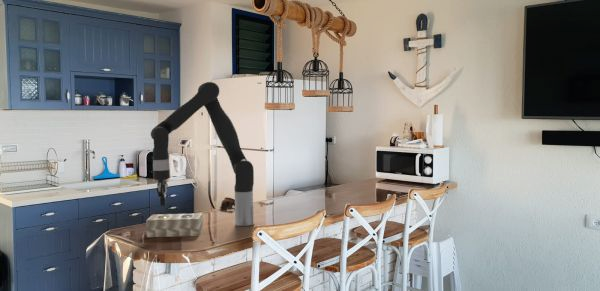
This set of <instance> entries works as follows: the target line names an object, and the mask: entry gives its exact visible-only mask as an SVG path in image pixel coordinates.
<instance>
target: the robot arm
mask: <svg viewBox="0 0 600 291" xmlns="http://www.w3.org/2000/svg"><path fill="white" fill-rule="evenodd" d="M219 95H220V87H219V85H218V84H216V83H215V82H213V81H206V82H203V83H202V84H201V85H199V86H198V89H197V93H196V94H195V95H193V97H192V98H190V99H189V100H188V101H187V102H185V103H184V104H182V105H181V106H179V107H178V108H177V109H176V110H174V111H173V112H172V113H171V114H169V116H167V117H166V118H165V119H164V120H163V121H161V122H159V123H158V124H156V126H154V127H153V128H152V130H151V131H150V138H151V139H152V140H153V148H152V174H153V179H154V180H155V181H157V184H156V192H157V195H158V198H160V199H159V200H160V206H165V205H167V200H166V197H167V194H168V187H169V184H168V182H167V180H169V179H170V178H171V174H170V173H171V172H170V162H169V161H170V160H169V140H170V139H169V138H170V137H169V135H170V134H171V133H172V132H173V131H176V130H178V129H179V128H181V126H182V125H184V124H185V123H186V122H187V121H188V120H189V119H190V118H191V117H192V116H193V115H194V114H196V113H197V111H199V110H200V109H202V108H203V107H204V108H205V109H206V112H207V114H208V116H209V119H210V121H211V123H212V126H213V129H214V130H215V133H216V135H217V137H218V139H219V141H220V144H221V145H222V147H223V149H224V150H225V152H226V154H227V156H228V159H229V160H230V165H231V168H232V171H233V173H234V175H235V183H234V184H235V185H234V200H235V206H234V219H235V226H236V227H248V226H254V223H255V221H254V220H255V219H254V218H255V217H254V214H255V213H254V184H255V183H254V180H255V178H254V177H255V176H254V172H255V171H254V166H253V164H252V162H251V161H249V160H248V159H247V157H246V156H245V154H244V152H243V150H242V149H241V145H240V139H239V136H238V133H237V130H236V128H235V126H234V124H233V122H232V119H230V117H229V115H228V114H227V113H226V111H225V110H224V109H223V107H222V106H221V104H220V101H219V98H218V97H219Z"/></svg>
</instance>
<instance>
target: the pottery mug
mask: <svg viewBox="0 0 600 291" xmlns="http://www.w3.org/2000/svg"><path fill="white" fill-rule="evenodd" d="M233 207H235V198H232V197H224V199H223V200H222V201H221V205H220V207H219V211H225V212H227V211H228V210H232V209H233Z"/></svg>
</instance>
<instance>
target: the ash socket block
mask: <svg viewBox="0 0 600 291" xmlns="http://www.w3.org/2000/svg"><path fill="white" fill-rule="evenodd" d="M161 216H168V218H159V217H161ZM182 216H191V217H187V218H182ZM145 222H146V224H145V226H146V227H145V228H146V238H165V237H170V238H171V237H197V236H198V237H200V235H201V233H202V231H203V229H204V228H203V227H204V225H203V213H202V212H201V213H197V212H196V213H163V214H159V213H158V214H151V216H149V217H148V218H147V219H146V221H145Z"/></svg>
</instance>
